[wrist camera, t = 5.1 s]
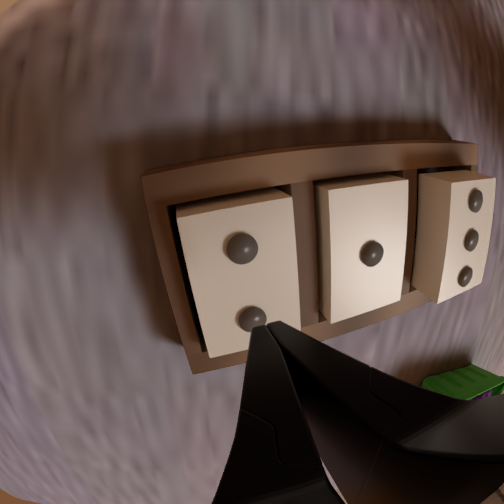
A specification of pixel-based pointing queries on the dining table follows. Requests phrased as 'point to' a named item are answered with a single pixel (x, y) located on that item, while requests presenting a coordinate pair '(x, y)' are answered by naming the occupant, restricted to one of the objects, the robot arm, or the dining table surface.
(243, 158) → the walnut board
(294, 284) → the tile two dots
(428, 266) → the tile three dots
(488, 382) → the fruit basket
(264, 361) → the robot arm
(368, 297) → the tile one dot
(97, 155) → the dining table surface
